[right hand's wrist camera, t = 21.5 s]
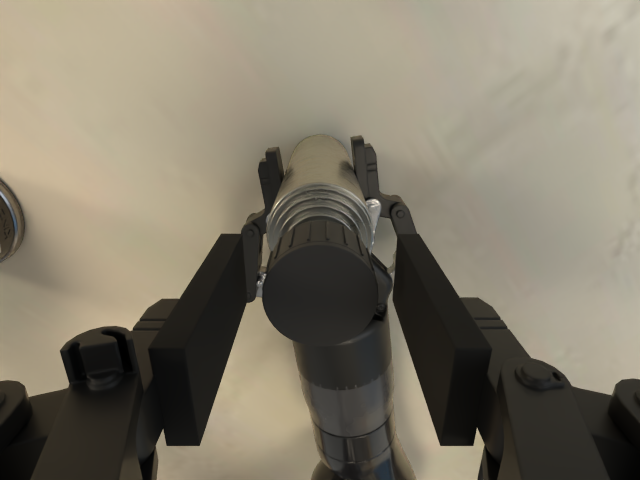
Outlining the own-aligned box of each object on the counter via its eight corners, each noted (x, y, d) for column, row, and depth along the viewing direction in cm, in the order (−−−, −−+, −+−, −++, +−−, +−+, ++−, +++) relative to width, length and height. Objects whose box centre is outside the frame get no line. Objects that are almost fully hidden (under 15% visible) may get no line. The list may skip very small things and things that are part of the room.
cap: (257, 229, 14) (246, 256, 12) (362, 209, 14) (370, 232, 12) (282, 318, 16) (276, 356, 13) (378, 301, 15) (388, 337, 13)
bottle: (295, 129, 32) (256, 207, 12) (354, 139, 32) (407, 231, 13) (287, 188, 33) (242, 336, 14) (343, 197, 34) (375, 354, 14)
